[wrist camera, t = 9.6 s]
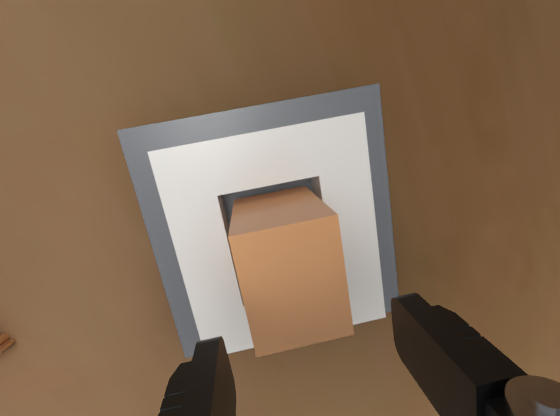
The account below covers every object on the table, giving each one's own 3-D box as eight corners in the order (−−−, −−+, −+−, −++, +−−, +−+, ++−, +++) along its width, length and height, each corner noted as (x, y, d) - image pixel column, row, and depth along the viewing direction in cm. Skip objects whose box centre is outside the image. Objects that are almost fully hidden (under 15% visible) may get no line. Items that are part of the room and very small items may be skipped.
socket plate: (366, 87, 21) (398, 76, 17) (387, 295, 25) (417, 329, 21) (129, 130, 20) (97, 129, 16) (190, 340, 24) (178, 385, 20)
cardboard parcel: (302, 183, 20) (338, 214, 12) (314, 262, 21) (354, 334, 14) (234, 196, 20) (228, 236, 12) (251, 275, 21) (256, 357, 13)
